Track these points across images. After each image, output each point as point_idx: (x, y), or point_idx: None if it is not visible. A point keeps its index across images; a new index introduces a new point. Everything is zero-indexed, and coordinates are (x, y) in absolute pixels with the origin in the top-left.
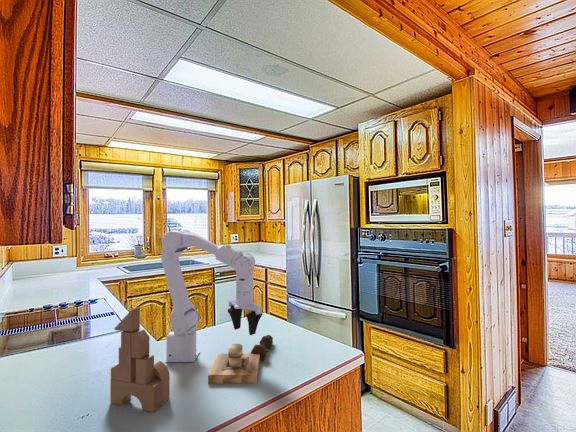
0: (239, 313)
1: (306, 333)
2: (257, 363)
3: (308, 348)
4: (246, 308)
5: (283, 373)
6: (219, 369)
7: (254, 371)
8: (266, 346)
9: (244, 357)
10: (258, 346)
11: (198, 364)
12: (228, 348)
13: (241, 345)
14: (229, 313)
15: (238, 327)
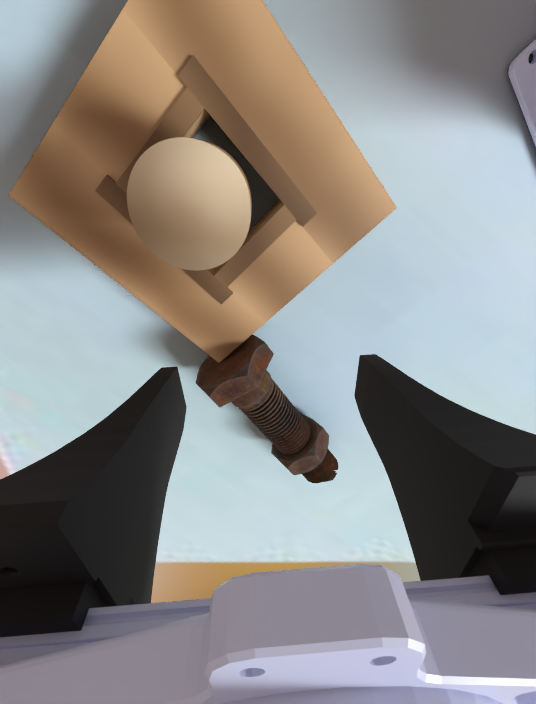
0: (414, 506)
1: (273, 553)
2: (130, 289)
3: (180, 503)
4: (50, 681)
5: (59, 341)
6: (212, 53)
7: (52, 216)
8: (252, 420)
9: (238, 286)
10: (224, 381)
11: (456, 79)
12: (212, 145)
13: (175, 260)
14: (518, 433)
15: (358, 388)
